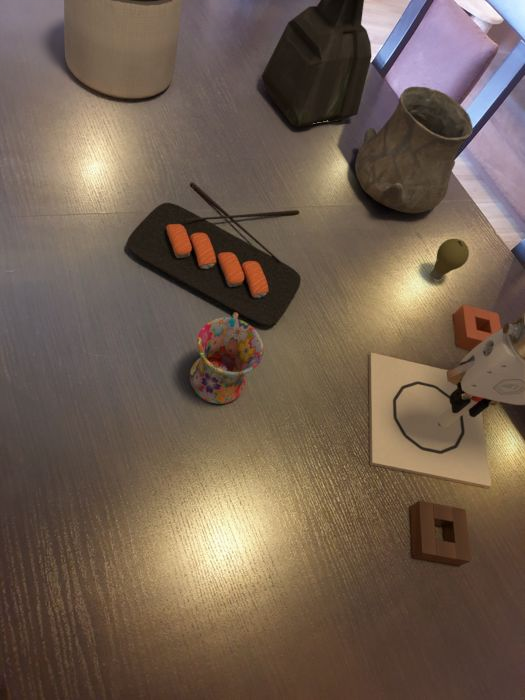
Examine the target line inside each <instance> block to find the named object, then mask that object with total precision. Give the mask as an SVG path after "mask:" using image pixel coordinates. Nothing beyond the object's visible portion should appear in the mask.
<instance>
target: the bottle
mask: <svg viewBox="0 0 525 700" xmlns="http://www.w3.org/2000/svg"><path fill="white" fill-rule="evenodd" d="M364 4H365V0H320V1H319V2H318V4H317V5H312V6H310V5H309V6H308V7H306V8H305V9H303V10H302V11H301V12H300V13H298V15H296V16H294V17H293V18H292V19H291V20H289V21H288V22H287V24H286V26H285V28H284V30H283V32H282V33H281V36H280V38H279V39H278V42H277V44H276V46H275V48H274V49H273V51H272V54H271V56H270V58H269V60H268V62H267V64H266V66H265V68H264V69H263V72H262V74H261V79H262V85H263V88H264V91H265V92H266V93H267V95H268V96H269V97H270V98H271V100H272V101H273V102H274V104H275V105H276V106H277V107H278V109H279V110H280V112H282V114H283V115H284V116H285V117H286V118H287V120H288V121H289V122H290V124H292V125H293V126H295V127H297V128H302V126H303V127H309V126H313V125H312V124H313V123H317V122H323V121H327V120H328V121H332V122H337V121H336V120H338V121H342V120H345V119H348V118H351V117H354V116H357V115H358V113H359V109H360V105H361V102H362V97H363V93H364V89H365V85H366V81H367V76H368V73H369V69H370V66H371V65H370V64H371V62H372V61H371V60H372V58H373V57H372V55H373V54H372V44H371V40H370V37H369V34H368V31H367V29H366V28H365V26H363V25H362V21H363V13H364ZM308 125H309V126H308Z"/></svg>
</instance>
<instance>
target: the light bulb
mask: <svg viewBox="0 0 525 700" xmlns="http://www.w3.org/2000/svg"><path fill="white" fill-rule="evenodd" d="M469 255H470V251H469V247H468V245H467V244H466V242H465V241H464V240H461V239H459V238H449V239H447V240H444V241H443V242H442V243H441V244H440V245H439V247H438V249H437V251H436V259H435V263H434V267H433V268H432V270H431V271H430V273H429V275H430V277H431V279H433V280H435V281H441V280H442V279H443V277H444V276H445V275H447V274H449V273H450V272H453V271H455V270H458V269H460V268H461V267H463V266H464V265H465V264H466V263H467V261H468V259H469V257H470V256H469Z"/></svg>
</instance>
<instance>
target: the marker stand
mask: <svg viewBox="0 0 525 700" xmlns="http://www.w3.org/2000/svg"><path fill="white" fill-rule="evenodd" d="M409 518H410V519H409V520H410V533H411V534H410V538H411V540H410V541H411V557H412V558H413V559H418V560H423V561H429V562H435V563H439V564H440V563H441V564H447V565H453V566H463V565H465V564H468V563H471V562H472V558H471V548H470V539H469V529H468V521H467V511H466V508H459V507H455V506H450V505H445V504H440V503H436V502H435V503H434V502H428V501H424V500H418V501H416V502H414V503H413V504H412V505H410V506H409ZM436 527H440V528H442V532H443V533H442V535H443V540H440V539H436V538H437V537H436Z"/></svg>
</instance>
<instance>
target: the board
mask: <svg viewBox="0 0 525 700" xmlns="http://www.w3.org/2000/svg"><path fill="white" fill-rule="evenodd" d="M447 371H449V369H444V368H439V367H435V366H431V365H427V364H423V363H418V362H413V361H410V360H405V359H401V358H397V357H393V356H388V355H383V354H380V353H375V352H370V353H369V354H368V421H369V422H368V424H369V425H368V426H369V427H368V430H369V432H368V433H369V434H368V435H369V437H368V438H369V465H370V466H373V467H374V466H375V467H379V468H384V469H389V470H395V471H399V472H404V473H409V474H413V475H417V476H424V477H428V478H434V479H438V480H444V481H449V482H454V483H459V484H465V485H469V486H474V487H478V488H483V489H489V488H491V487H492V480H491V472H490V465H489V458H488V450H487V442H486V436H485V435H486V434H485V427H484V422H483V421H484V420H483V414H482V413H483V411H482V412H481V413H480V414H478V415H477V416H476V417H471V416H470V415H469V410H468V411H467V412H465V413H464V414H463V415H462V416H460V417H459V418H458V419H457V420H455V421H454V422H453V423H452V424H450V425H449V426H448V427H442V426H439V425H438V417H439V416H440V415H441V414H442V413H444V412H445V411H446V410H447V409H448V408H449V407H451V404H450V395H451V394H452V393H453V392H454V391H455V390H456V389H457V385H454V384H452V383H450V382H449V381H447V373H446V372H447Z"/></svg>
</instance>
